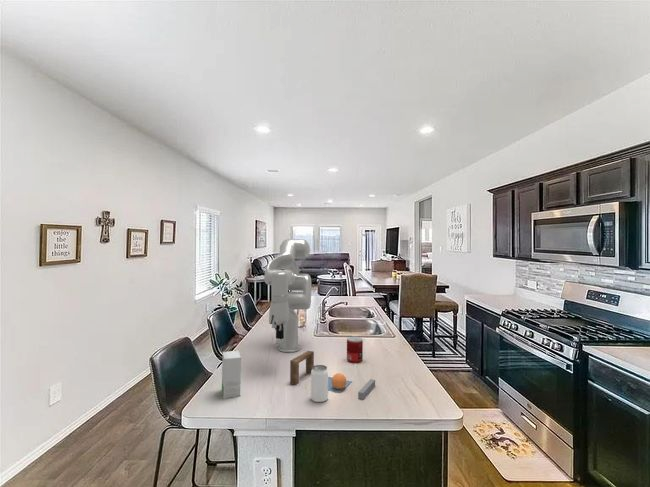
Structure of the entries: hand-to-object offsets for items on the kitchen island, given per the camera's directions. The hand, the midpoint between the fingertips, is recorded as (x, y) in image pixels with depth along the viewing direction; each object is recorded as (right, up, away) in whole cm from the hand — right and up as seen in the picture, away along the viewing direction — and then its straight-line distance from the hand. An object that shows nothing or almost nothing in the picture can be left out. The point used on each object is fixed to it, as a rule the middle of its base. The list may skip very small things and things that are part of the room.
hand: (279, 338), depth 157 cm
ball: (+27, -13, -18) cm, 34 cm away
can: (+19, -16, -27) cm, 36 cm away
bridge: (+11, -15, -7) cm, 20 cm away
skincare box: (-16, -16, -22) cm, 32 cm away
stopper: (+38, -16, -21) cm, 46 cm away
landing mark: (+24, -16, -14) cm, 32 cm away
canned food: (+36, -16, +15) cm, 42 cm away
